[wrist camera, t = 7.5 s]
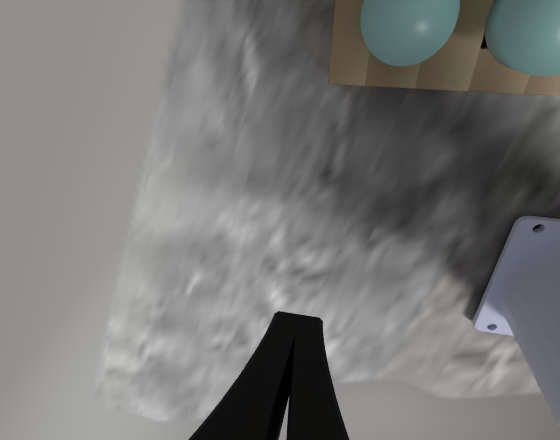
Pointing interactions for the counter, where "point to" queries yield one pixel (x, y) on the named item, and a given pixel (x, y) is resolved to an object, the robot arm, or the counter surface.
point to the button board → (431, 58)
